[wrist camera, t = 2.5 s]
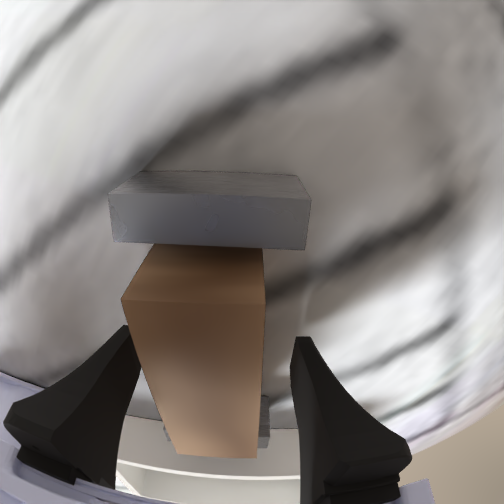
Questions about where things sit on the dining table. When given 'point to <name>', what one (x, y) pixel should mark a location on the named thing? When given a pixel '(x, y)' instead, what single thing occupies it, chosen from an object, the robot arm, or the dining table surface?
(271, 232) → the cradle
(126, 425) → the bin
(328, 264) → the dining table surface
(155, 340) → the wooden block
